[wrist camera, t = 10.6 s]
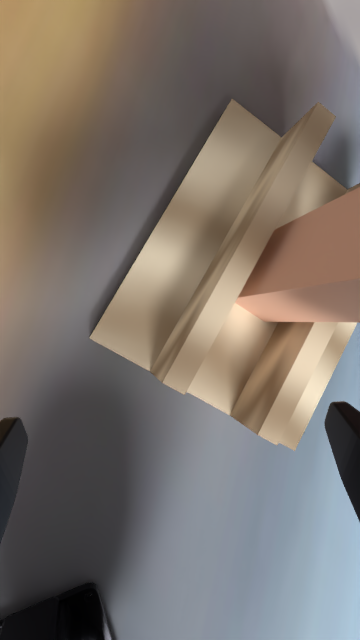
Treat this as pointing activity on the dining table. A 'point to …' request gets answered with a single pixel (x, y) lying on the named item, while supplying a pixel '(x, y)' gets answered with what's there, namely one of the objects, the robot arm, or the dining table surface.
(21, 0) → the dining table surface
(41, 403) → the dining table surface
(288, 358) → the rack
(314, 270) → the pink rectangular block
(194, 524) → the dining table surface
